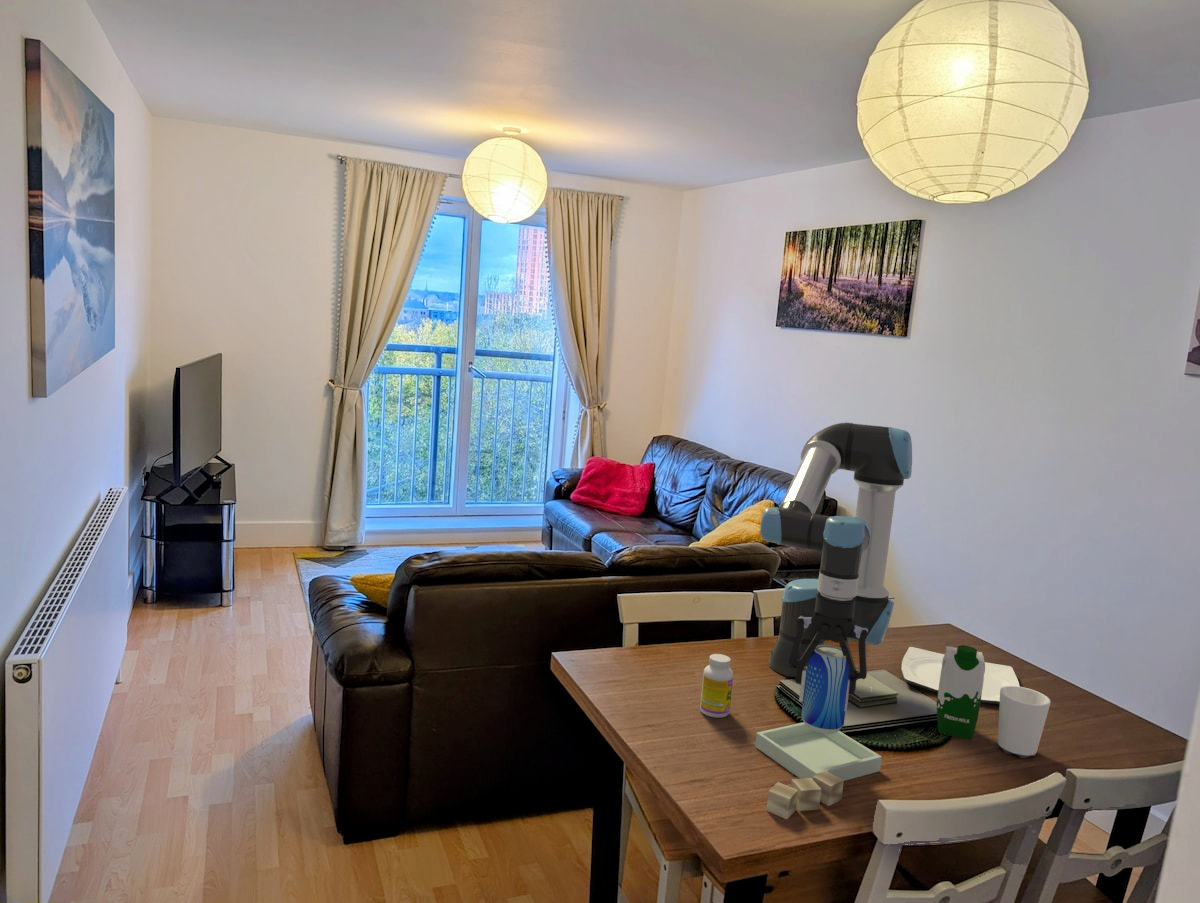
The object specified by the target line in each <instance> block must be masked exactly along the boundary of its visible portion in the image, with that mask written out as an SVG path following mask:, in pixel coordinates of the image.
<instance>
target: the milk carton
mask: <svg viewBox="0 0 1200 903" xmlns="http://www.w3.org/2000/svg"><path fill="white" fill-rule="evenodd" d="M943 654H944V657H943V661H942V669H941V675H940V682H939V689H938V693H937V697H936V718H937V722H938V723H937V732H941V733H945V734H948V735H947V736H949V737H950V736H951V737H955V738H960V739H965V740H969V741H973V737H974V735H975V730H976V728H977V727H976V726H977V724H978V719H979V714H980V708H981V703H982V702H981V695H982V689H983V681H984V673H985V662H986V661H985V656H984V655H983V652H982V651H978V649H976V648H975V647H973V646H970V645H969V646H968V645H957V647H954V646H947V645H946V646H945V652H944V653H943ZM945 734H944V735H945Z"/></svg>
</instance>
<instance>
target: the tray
mask: <svg viewBox="0 0 1200 903" xmlns="http://www.w3.org/2000/svg"><path fill="white" fill-rule="evenodd" d="M755 735H756V736H755V743H754V747H755V748H756V749H758V750H759V751H760V752H762V753H763V754H765V755H766V756H768V757H769V758H771V759H772V760H773V761H774V762H776V763H778V764H779V765H780V766H782V767H783V768H785V769H786V770H787V771H788V772H790V773H791V774H793V775H794V776H796V777H797V778H798V779H801V778H812V779H813V776H815V775H818V774H820V773H822V772H824V771H827V772H829V773H831V774H833V775H835V776H837V777H839V778H841V779H843V780H844V781H846V782H847V781H849V780H853V779H856V778H860V777H864V776H868V775H871V774H874V773H877V772H880V771H881V768H882V767H881V766H882V759H883V756H881V755H880V754H878V753H877V752H875V751H873V750H871V749H870V748H868V747H867V746H865V745H863V744H862V743H859V742H858V741H856V740H855V739H853V737H850V736H848V735H846V734H845V733H843V732H841V730H839V731H838V732H837V733H834V734H823V733H818V732H815V731H812V730H810V729H809V728H807V727H806V726H805V724H804V721H803V722H798V723H794V724H790V725H786V726H785V725H784V726H781V727H775V728H771V729H767V730H763V731H757V732H756V733H755Z"/></svg>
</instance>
